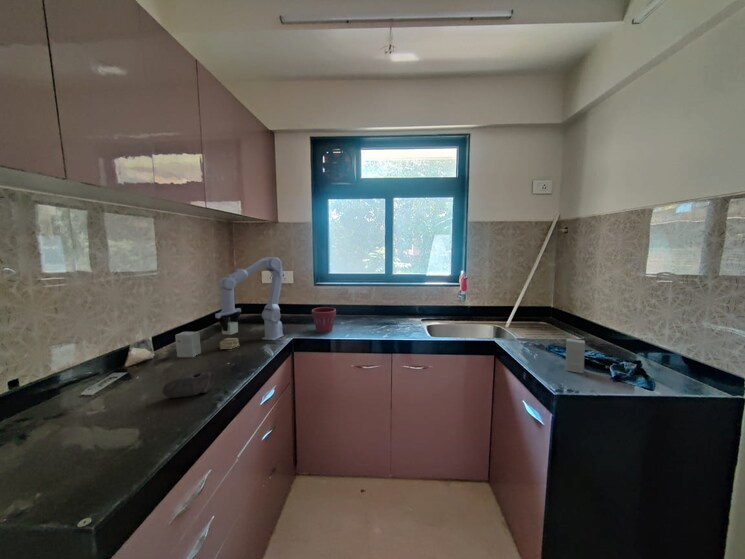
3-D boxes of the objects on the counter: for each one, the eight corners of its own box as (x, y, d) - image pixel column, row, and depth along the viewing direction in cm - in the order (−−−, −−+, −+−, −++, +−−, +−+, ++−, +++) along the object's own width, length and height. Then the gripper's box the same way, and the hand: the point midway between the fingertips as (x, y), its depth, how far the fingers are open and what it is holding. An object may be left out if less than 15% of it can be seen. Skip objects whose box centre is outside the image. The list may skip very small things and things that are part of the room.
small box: (201, 353, 141) (199, 331, 140) (193, 357, 135) (191, 335, 134) (185, 353, 142) (183, 331, 141) (176, 357, 136) (174, 334, 135)
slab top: (226, 342, 151) (226, 338, 151) (238, 342, 151) (238, 338, 151) (220, 346, 146) (219, 341, 145) (232, 346, 145) (232, 341, 145)
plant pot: (334, 334, 171) (334, 311, 169) (310, 334, 171) (309, 312, 169) (337, 327, 185) (337, 307, 184) (314, 327, 185) (314, 307, 183)
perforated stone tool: (160, 403, 96) (158, 382, 95) (165, 395, 100) (163, 375, 100) (213, 394, 101) (212, 374, 100) (215, 388, 106) (214, 369, 105)
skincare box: (583, 370, 117) (585, 340, 116) (583, 374, 114) (585, 343, 113) (565, 366, 121) (566, 337, 120) (564, 370, 117) (566, 340, 116)
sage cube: (229, 331, 150) (229, 321, 150) (238, 332, 149) (237, 322, 148) (222, 333, 146) (221, 323, 145) (230, 334, 144) (230, 324, 144)
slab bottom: (229, 346, 152) (229, 342, 152) (239, 347, 151) (239, 343, 150) (220, 350, 147) (220, 345, 146) (230, 351, 145) (230, 346, 145)
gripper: (232, 299, 154) (234, 325, 155) (209, 304, 140) (211, 332, 142) (243, 299, 152) (245, 326, 153) (221, 304, 138) (223, 333, 139)
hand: (229, 329), depth 147 cm, fingers closed on sage cube, 5 cm apart
